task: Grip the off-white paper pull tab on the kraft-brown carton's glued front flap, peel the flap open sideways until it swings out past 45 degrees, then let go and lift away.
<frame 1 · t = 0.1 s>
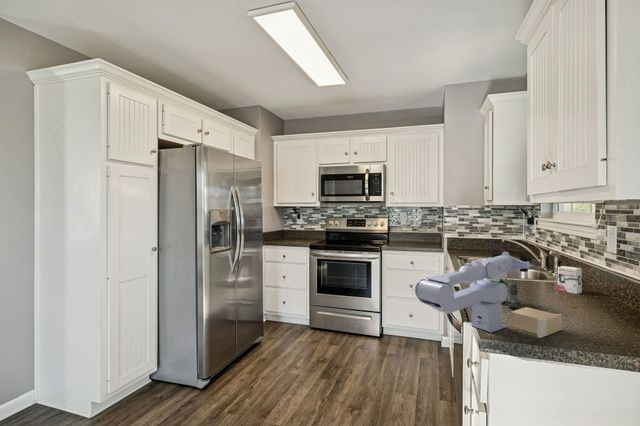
hand: (519, 259, 122), 22 cm above the counter, tool horizontal, fingers open, 7 cm apart
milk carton: (494, 301, 144), on the counter
flap: (550, 324, 105), point 3 cm above the counter, hinge at 0.0°
carton: (534, 327, 110), on the counter
ink box: (569, 291, 159), on the counter
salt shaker: (512, 309, 131), on the counter
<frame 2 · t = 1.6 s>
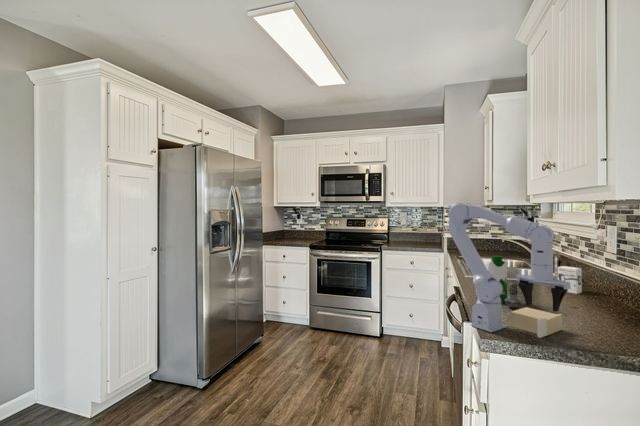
hand: (542, 307, 102), 9 cm above the counter, tool pointing down, fingers open, 7 cm apart
nothing on the counter moved.
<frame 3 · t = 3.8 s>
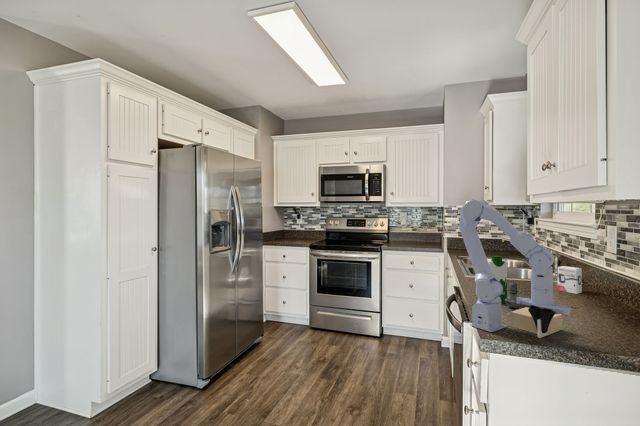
hand: (542, 331, 102), 2 cm above the counter, tool pointing down, fingers closed, pressing on flap
flap: (550, 324, 105), point 3 cm above the counter, hinge at 0.0°, touching gripper
everything else where it was.
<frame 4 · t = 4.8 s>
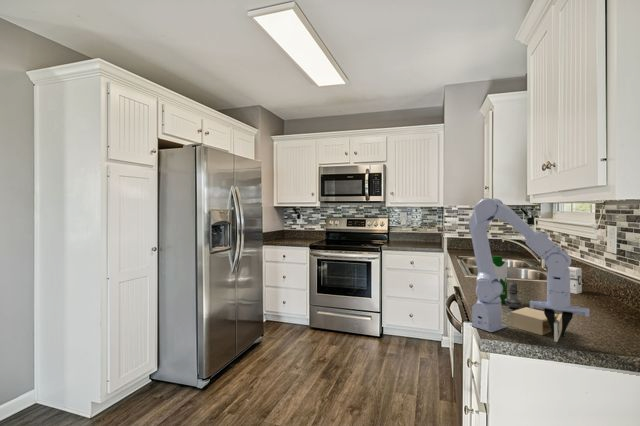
hand: (558, 335, 99), 2 cm above the counter, tool pointing down, fingers closed
flap: (558, 326, 103), point 3 cm above the counter, hinge at 17.5°, touching gripper
everything else where it was.
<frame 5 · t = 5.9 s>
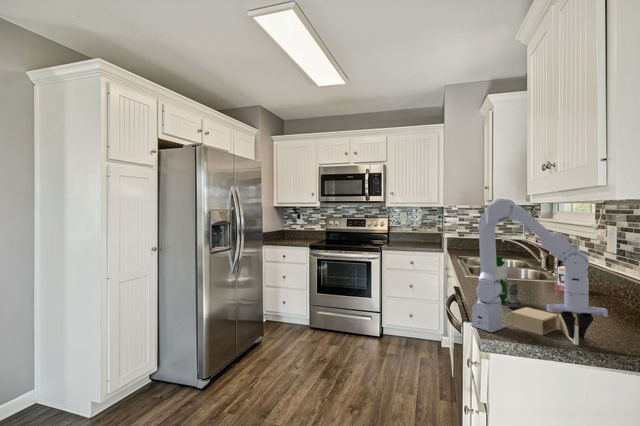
hand: (576, 337, 97), 2 cm above the counter, tool pointing down, fingers closed
flap: (568, 327, 102), point 3 cm above the counter, hinge at 37.7°, touching gripper
everything else where it was.
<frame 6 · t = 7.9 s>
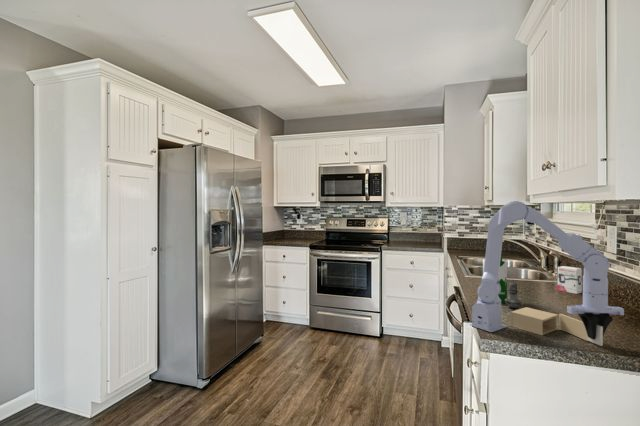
hand: (595, 338, 97), 2 cm above the counter, tool pointing down, fingers closed on flap
flap: (579, 327, 102), point 3 cm above the counter, hinge at 64.7°, touching gripper
everything else where it was.
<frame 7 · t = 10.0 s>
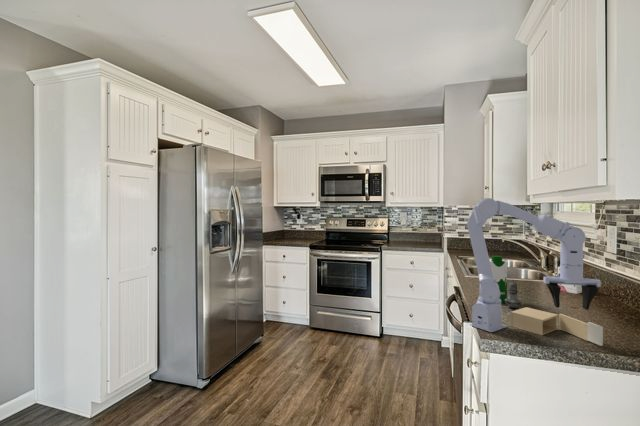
hand: (571, 307, 102), 9 cm above the counter, tool pointing down, fingers open, 7 cm apart
flap: (579, 327, 102), point 3 cm above the counter, hinge at 64.7°
everything else where it was.
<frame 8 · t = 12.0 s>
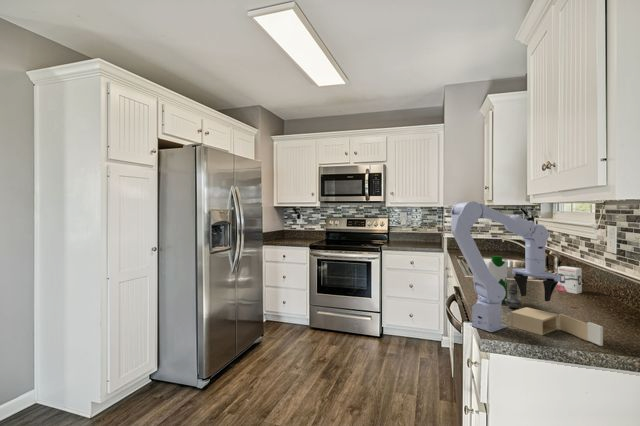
hand: (535, 298, 113), 9 cm above the counter, tool pointing down, fingers open, 7 cm apart
nothing on the counter moved.
at the end: flap at +65° (first picture: +0°); the gripper is holding nothing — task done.
